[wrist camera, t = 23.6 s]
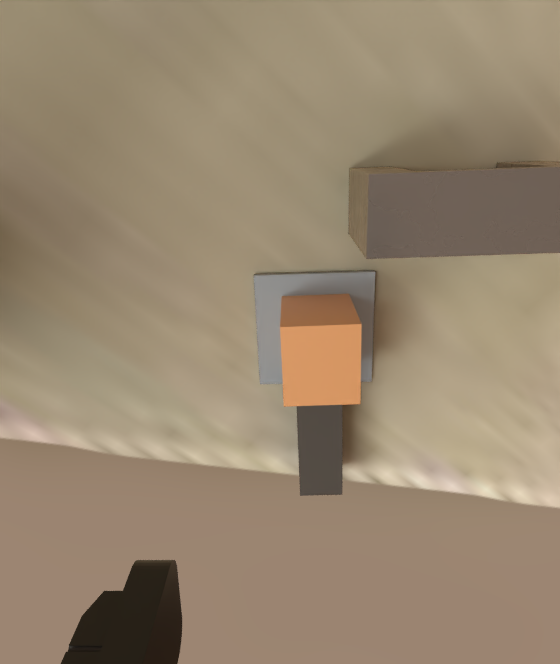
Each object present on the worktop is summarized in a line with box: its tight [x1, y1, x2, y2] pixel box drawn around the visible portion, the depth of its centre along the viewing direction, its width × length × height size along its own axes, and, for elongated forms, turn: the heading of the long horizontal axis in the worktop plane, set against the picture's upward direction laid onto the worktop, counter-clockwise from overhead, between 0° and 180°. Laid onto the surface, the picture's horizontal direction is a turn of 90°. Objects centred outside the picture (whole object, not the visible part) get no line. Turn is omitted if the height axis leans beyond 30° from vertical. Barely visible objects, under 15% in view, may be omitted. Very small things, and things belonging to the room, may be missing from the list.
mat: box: [254, 271, 375, 384], centre depth 33 cm, size 8×8×1 cm
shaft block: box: [348, 161, 560, 259], centre depth 26 cm, size 12×4×8 cm, turn 92°
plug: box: [280, 294, 362, 496], centre depth 32 cm, size 4×14×6 cm, turn 3°
